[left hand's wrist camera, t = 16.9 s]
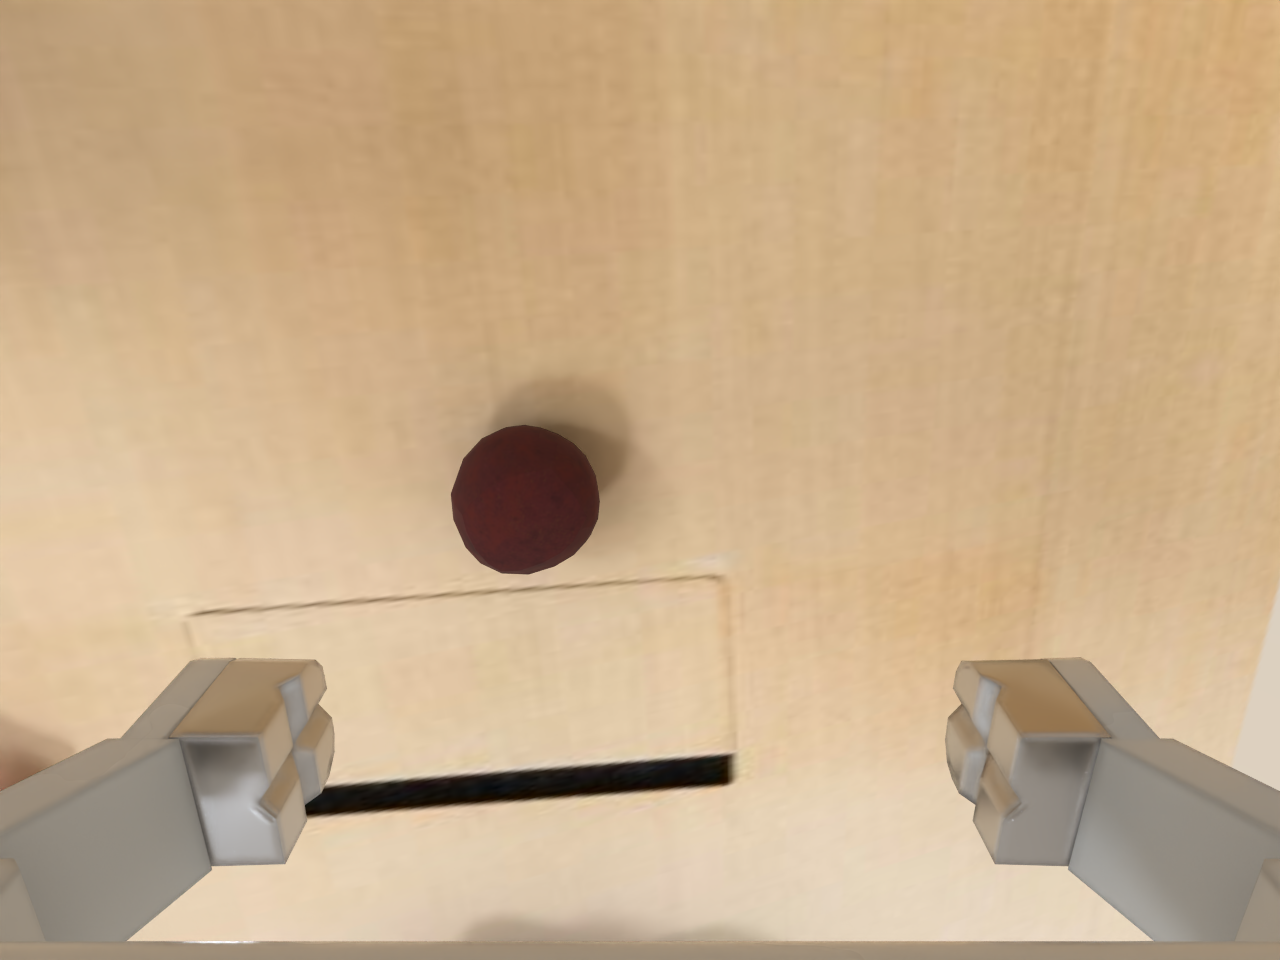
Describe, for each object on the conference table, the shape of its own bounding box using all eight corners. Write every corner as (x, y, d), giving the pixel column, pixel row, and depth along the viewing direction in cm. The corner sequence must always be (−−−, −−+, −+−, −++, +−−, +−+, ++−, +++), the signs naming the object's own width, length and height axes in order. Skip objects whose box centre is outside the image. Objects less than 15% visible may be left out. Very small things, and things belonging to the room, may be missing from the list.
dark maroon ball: (627, 493, 45) (625, 550, 39) (511, 558, 47) (491, 623, 40) (554, 383, 43) (538, 424, 36) (435, 455, 44) (399, 506, 38)
